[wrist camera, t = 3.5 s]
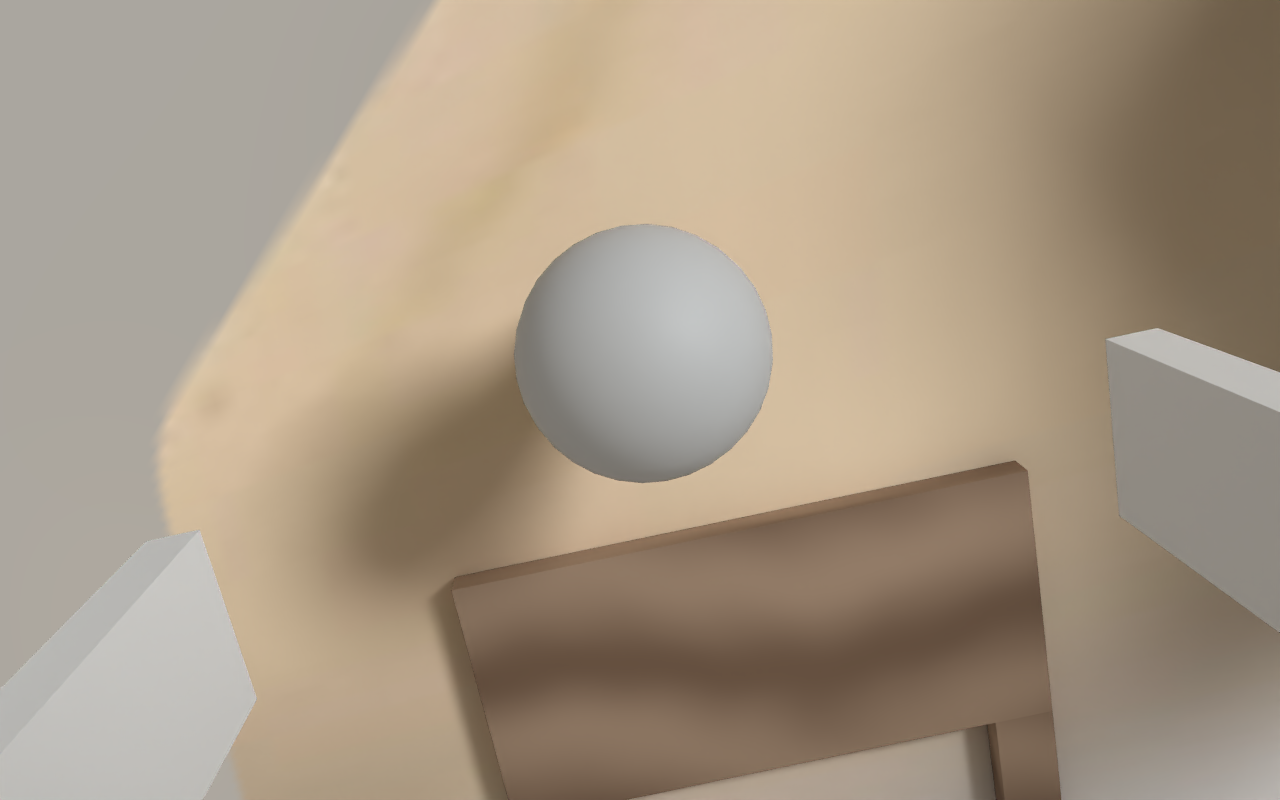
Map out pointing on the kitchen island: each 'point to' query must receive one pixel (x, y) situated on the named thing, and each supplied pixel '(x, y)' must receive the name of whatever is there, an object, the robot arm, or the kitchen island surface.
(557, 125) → the kitchen island surface
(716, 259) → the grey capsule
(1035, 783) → the brown wooden frame
